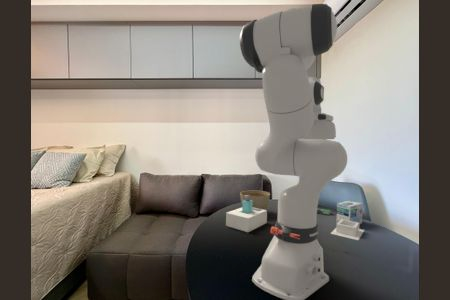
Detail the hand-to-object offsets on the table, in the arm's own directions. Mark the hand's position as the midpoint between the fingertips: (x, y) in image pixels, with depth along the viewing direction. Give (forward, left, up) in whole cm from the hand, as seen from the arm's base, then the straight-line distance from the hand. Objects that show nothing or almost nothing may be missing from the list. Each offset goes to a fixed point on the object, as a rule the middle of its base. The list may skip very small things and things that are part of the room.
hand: (309, 150), depth 98 cm
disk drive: (+30, +6, -36) cm, 47 cm away
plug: (-9, +25, -33) cm, 42 cm away
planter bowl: (+9, +32, -35) cm, 48 cm away
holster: (+8, -14, -35) cm, 39 cm away
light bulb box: (+21, -12, -35) cm, 43 cm away
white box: (-9, +25, -35) cm, 44 cm away
